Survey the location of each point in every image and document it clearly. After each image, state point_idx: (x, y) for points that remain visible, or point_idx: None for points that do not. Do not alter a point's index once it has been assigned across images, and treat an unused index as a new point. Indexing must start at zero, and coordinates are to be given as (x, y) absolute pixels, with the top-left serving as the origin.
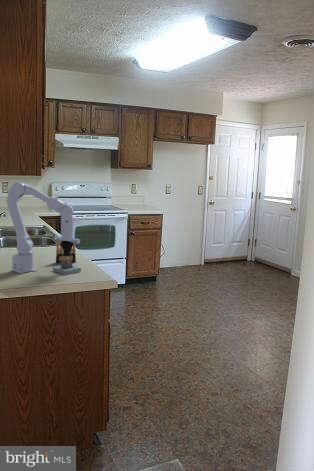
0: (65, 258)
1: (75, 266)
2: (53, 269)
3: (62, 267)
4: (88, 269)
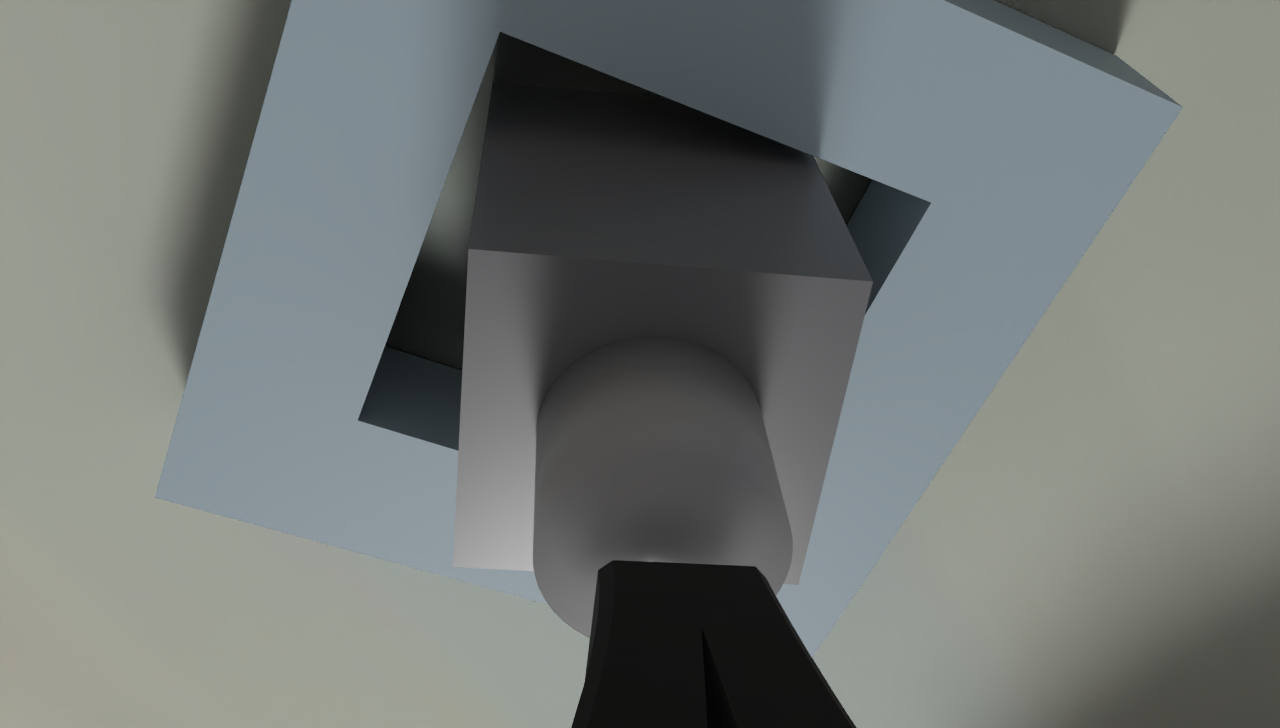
0: (668, 450)
1: (435, 543)
2: (1102, 57)
3: (746, 169)
4: (183, 685)
